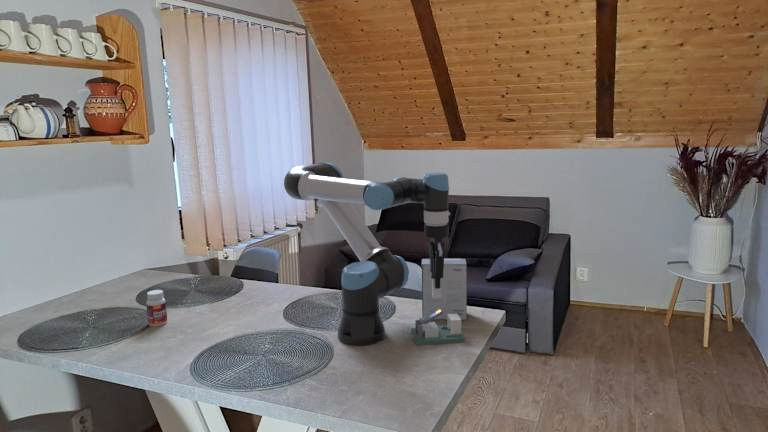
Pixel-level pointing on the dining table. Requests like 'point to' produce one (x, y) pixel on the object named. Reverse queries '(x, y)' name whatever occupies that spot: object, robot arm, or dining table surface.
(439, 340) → the board
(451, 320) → the white open-sided box
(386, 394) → the dining table surface
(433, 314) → the grey rectangular bar
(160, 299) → the pill bottle
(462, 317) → the hard drive box
